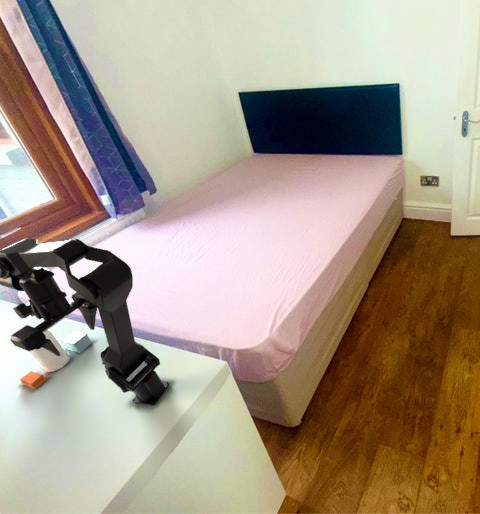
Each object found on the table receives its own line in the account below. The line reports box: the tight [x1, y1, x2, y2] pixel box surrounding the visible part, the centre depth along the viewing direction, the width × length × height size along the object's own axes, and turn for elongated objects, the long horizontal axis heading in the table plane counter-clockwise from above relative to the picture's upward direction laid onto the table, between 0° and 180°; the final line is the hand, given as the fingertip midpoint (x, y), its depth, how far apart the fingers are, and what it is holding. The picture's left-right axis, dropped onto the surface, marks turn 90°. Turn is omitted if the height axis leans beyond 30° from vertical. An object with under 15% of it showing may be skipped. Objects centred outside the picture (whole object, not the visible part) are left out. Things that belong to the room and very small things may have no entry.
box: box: [60, 330, 93, 354], centre depth 108 cm, size 6×4×4 cm
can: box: [28, 329, 71, 373], centre depth 101 cm, size 6×6×12 cm
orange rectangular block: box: [19, 370, 48, 390], centre depth 98 cm, size 6×3×2 cm, turn 67°
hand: (76, 341), depth 89 cm, fingers open, 9 cm apart
